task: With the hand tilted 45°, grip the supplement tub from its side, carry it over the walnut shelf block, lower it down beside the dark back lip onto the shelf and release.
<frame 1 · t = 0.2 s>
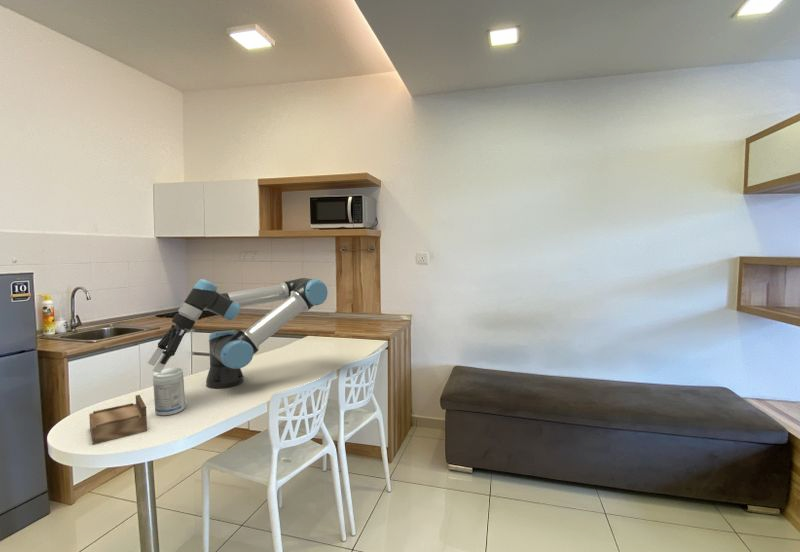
hand: (153, 368, 144), 15 cm above the table, tool tilted 35°, fingers open, 13 cm apart
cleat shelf: (118, 429, 129), on the table
supplement tub: (170, 411, 144), on the table, touching gripper
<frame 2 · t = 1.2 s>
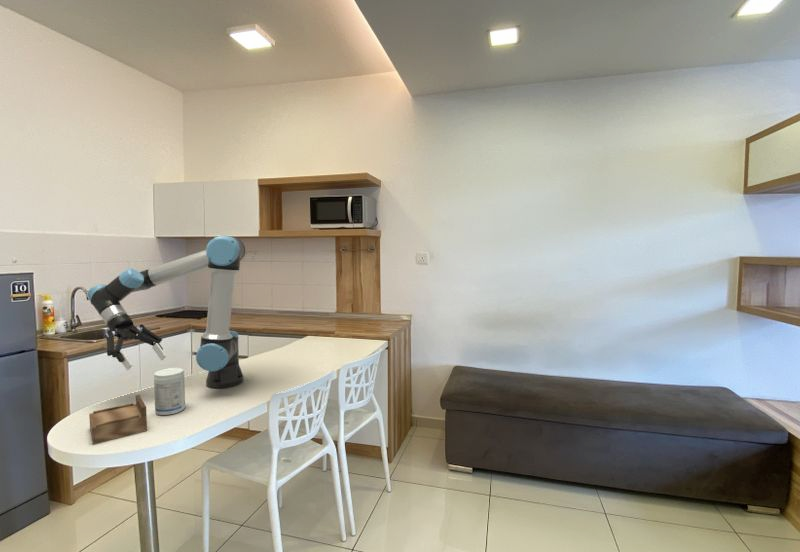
hand: (147, 362, 146), 17 cm above the table, tool tilted 45°, fingers open, 13 cm apart
supplement tub: (170, 411, 144), on the table
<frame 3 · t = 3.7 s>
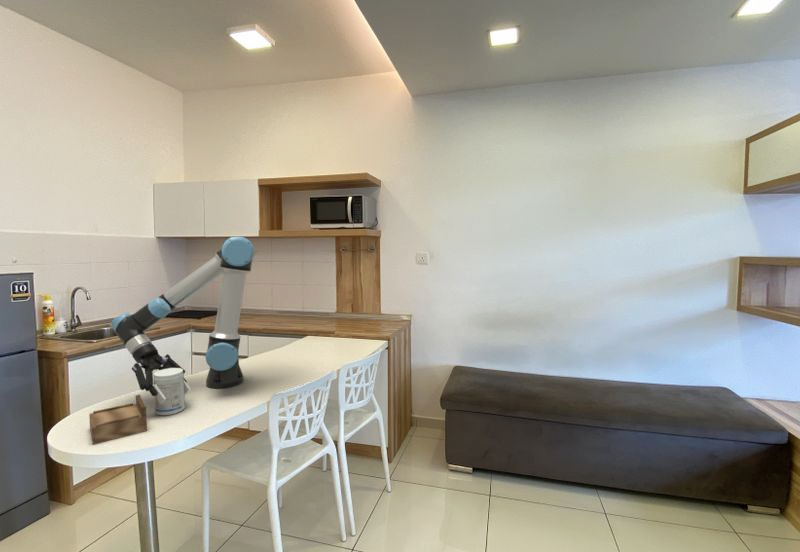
hand: (176, 396, 143), 6 cm above the table, tool tilted 45°, fingers closed on supplement tub, 10 cm apart
supplement tub: (170, 411, 144), on the table, touching gripper
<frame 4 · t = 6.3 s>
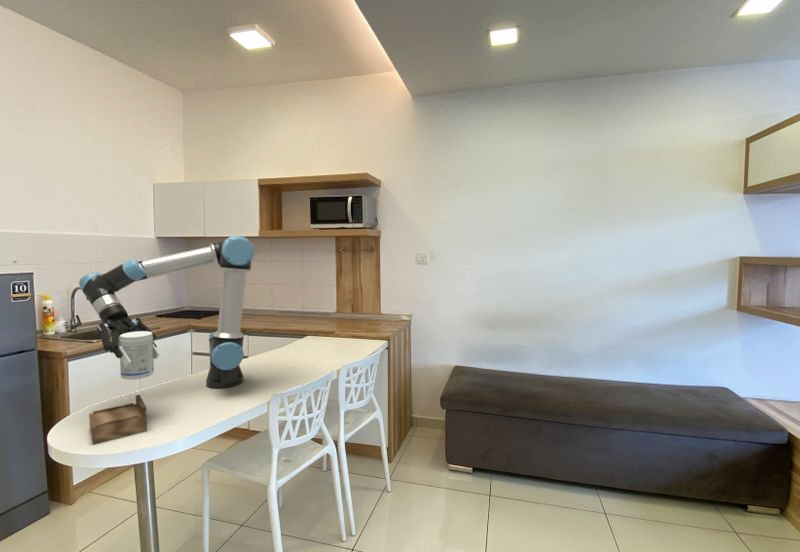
hand: (143, 360, 134), 21 cm above the table, tool tilted 45°, fingers closed on supplement tub, 10 cm apart
supplement tub: (137, 376, 135), point 15 cm above the table, touching gripper
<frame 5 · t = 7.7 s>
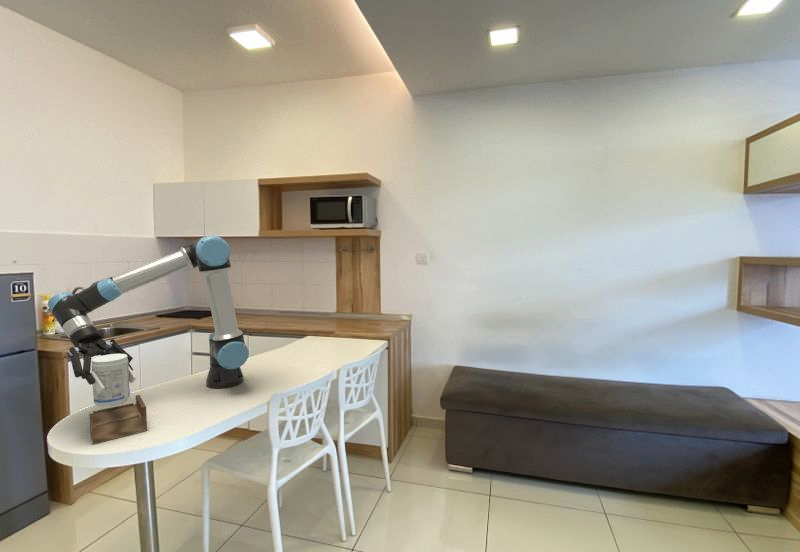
hand: (118, 385, 126), 15 cm above the table, tool tilted 45°, fingers closed on supplement tub, 10 cm apart
supplement tub: (112, 402, 128), point 9 cm above the table, touching gripper
when the fingers open (12 cm above the table, at t = 8.8 s): supplement tub drops 1 cm, resting on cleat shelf.
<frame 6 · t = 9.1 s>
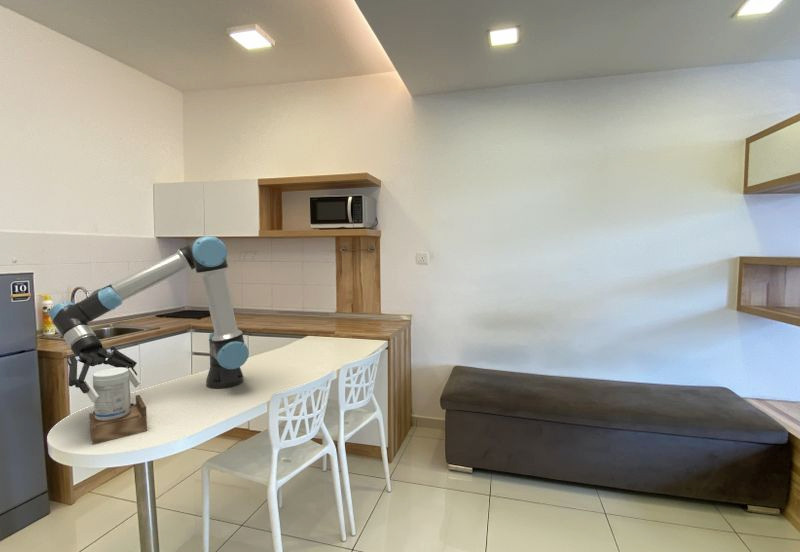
hand: (117, 391, 127), 13 cm above the table, tool tilted 45°, fingers open, 13 cm apart
supplement tub: (113, 416, 128), point 5 cm above the table, touching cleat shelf
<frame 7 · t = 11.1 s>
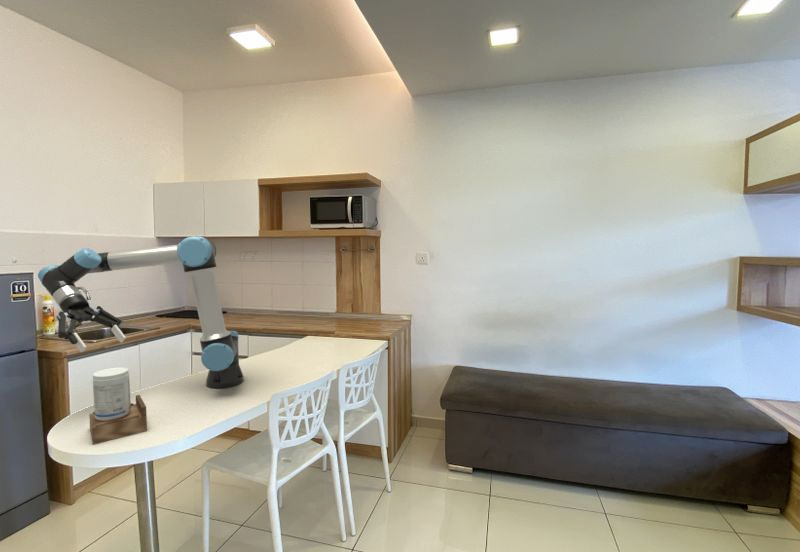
hand: (104, 344, 138), 26 cm above the table, tool tilted 45°, fingers open, 13 cm apart
nothing on the table moved.
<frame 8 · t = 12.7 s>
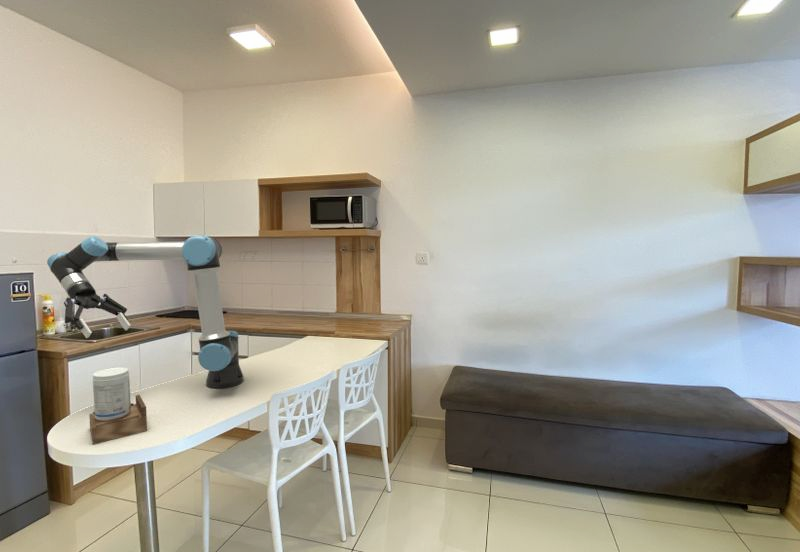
hand: (109, 331, 141), 30 cm above the table, tool tilted 45°, fingers open, 13 cm apart
nothing on the table moved.
at the end: supplement tub inside the target area (0.2 cm from its centre), point 4.8 cm above the table; supplement tub touching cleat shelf; supplement tub tilted 0° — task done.
